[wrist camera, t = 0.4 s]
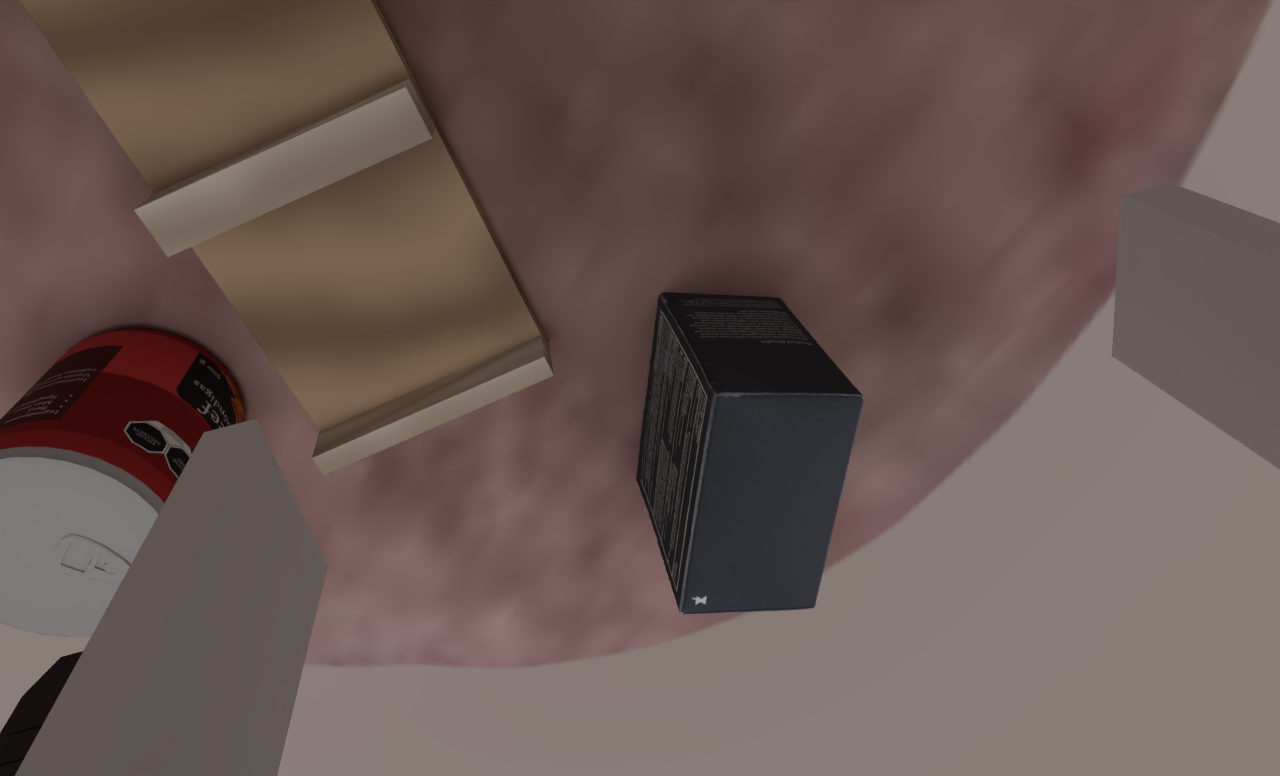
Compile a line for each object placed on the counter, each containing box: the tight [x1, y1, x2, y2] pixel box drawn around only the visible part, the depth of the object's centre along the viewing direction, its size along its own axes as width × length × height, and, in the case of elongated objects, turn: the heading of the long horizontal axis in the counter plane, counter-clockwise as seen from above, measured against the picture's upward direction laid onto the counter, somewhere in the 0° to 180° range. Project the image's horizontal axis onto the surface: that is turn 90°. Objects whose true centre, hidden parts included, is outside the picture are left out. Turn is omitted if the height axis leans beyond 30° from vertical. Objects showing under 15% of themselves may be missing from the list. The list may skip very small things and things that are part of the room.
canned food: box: [0, 329, 245, 637], centre depth 35 cm, size 8×8×11 cm
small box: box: [636, 293, 864, 615], centre depth 40 cm, size 11×6×10 cm, turn 174°
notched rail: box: [20, 0, 554, 475], centre depth 35 cm, size 24×11×4 cm, turn 22°
